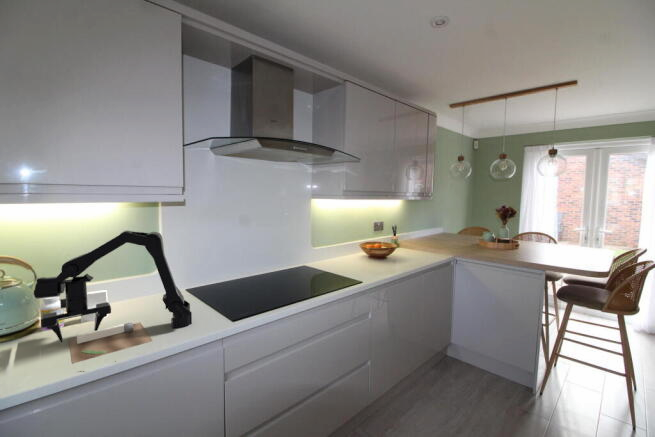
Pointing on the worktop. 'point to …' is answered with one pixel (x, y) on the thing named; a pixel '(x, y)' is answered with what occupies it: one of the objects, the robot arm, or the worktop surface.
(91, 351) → the board
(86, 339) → the dial needle
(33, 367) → the worktop surface
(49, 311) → the supplement bottle
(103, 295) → the white open-front box
